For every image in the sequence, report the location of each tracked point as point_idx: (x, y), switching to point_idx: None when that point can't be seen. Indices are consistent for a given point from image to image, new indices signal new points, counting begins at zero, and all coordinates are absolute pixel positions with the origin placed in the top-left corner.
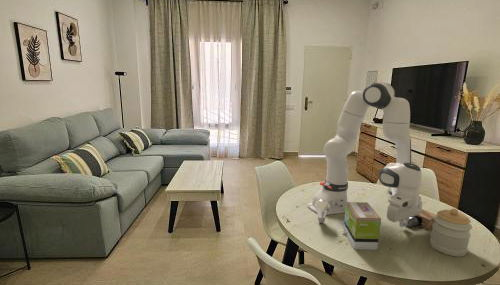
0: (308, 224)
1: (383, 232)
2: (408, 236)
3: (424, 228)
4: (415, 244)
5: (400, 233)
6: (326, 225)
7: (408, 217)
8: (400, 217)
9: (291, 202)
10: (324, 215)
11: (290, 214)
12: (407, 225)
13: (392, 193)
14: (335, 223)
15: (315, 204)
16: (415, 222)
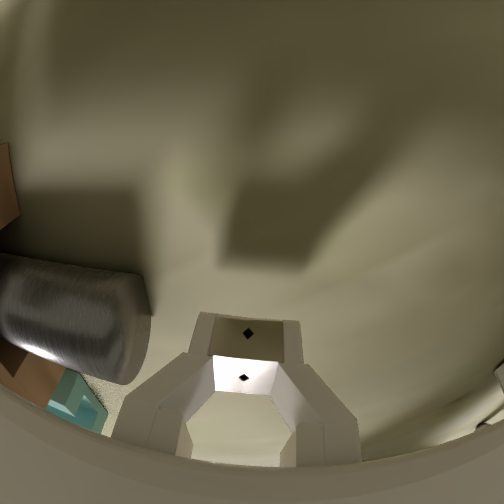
0: (499, 417)
1: (459, 333)
2: (380, 159)
3: (11, 181)
4: (479, 37)
5: (382, 257)
6: (490, 413)
7: (205, 478)
8: (501, 483)
9: None
10: None
11: None
12: (138, 305)
13: None
14: (466, 422)
15: None
16: (35, 284)
